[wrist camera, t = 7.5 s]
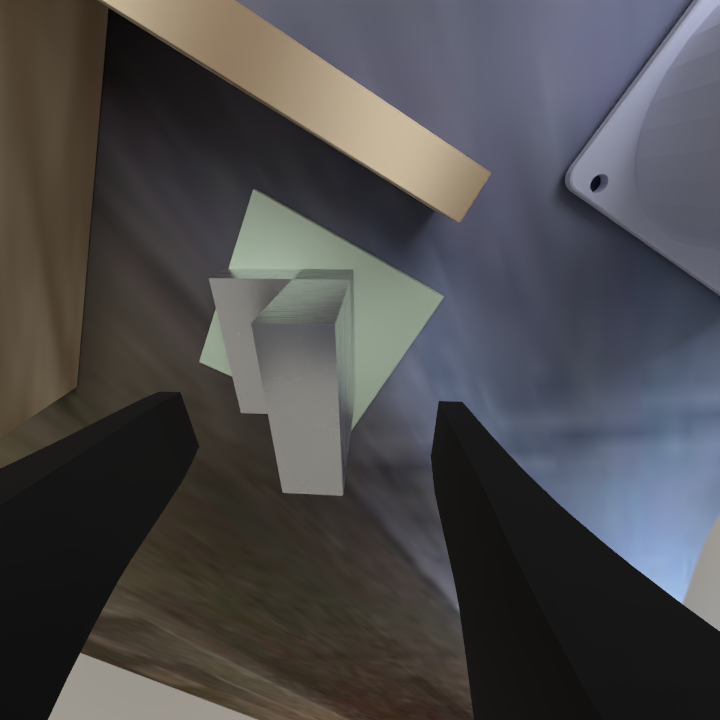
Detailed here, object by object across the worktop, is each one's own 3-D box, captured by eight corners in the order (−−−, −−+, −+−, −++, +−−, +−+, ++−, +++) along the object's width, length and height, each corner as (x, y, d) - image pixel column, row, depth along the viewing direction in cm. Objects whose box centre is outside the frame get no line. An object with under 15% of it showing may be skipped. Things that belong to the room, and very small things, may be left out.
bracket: (355, 396, 15) (343, 495, 10) (253, 393, 15) (194, 488, 11) (353, 269, 12) (335, 324, 7) (227, 268, 12) (129, 321, 8)
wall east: (110, -20, 9) (-63, -149, 5) (77, 387, 16) (-7, 442, 13) (66, -48, 9) (-145, -202, 5) (52, 376, 16) (-40, 430, 12)
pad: (442, 294, 13) (443, 297, 12) (352, 426, 16) (351, 430, 16) (256, 189, 11) (253, 188, 11) (202, 358, 15) (199, 362, 15)
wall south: (455, 177, 11) (491, 172, 7) (435, 211, 11) (459, 222, 8) (90, -63, 9) (-111, -234, 5) (87, -6, 9) (-96, -124, 6)
